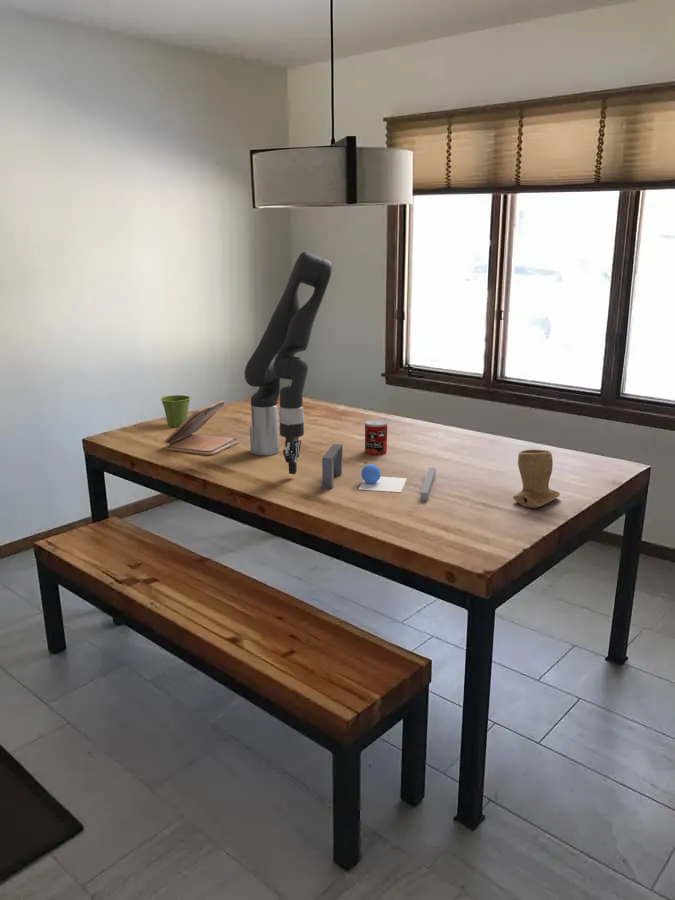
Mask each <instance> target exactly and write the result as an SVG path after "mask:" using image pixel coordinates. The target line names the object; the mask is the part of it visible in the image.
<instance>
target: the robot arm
mask: <svg viewBox="0 0 675 900" xmlns="http://www.w3.org/2000/svg"><path fill="white" fill-rule="evenodd" d="M332 270H333V265H332V262H331V261H330V260H328V259H326V258H325V257H321V256H318V255H316V254H314V253H311V252H310V253H309V252H307V251H303V252H302V253H300V254H299V256H298V257H297V259H296V261H295V264H294V265H293V268H292V271H291V273H290V275H289V279H288V281H287V283H286V285H285V286H286V287H285V289H284V291H283V293H282V295H281V298H280V300H279V302H278V304H277V306H276V307H275V310H273V311H274V312H273V313H272V316H271V318H270V320H269V322H268V325H267V327H266V329H265V331H264V333H263V335H262V337H261V339H260V341H259V343H258V345H257V346H256V348H255V351H254V352H253V354H252V355H251V356H250V358H249V360H248V362H247V363H246V365H245V368H244V379H245V382H246V383H247V385H249V386H251V387H254V388H256V387H257V388H258V387H259V388H258V390H257V391H256V392H255V393H254V394H253V395H252V396H251V398H250V412H251V413H250V414H251V415H250V416H251V417H250V419H251V426H249V438H250V439H249V442H250V443H249V444H250V454H254V455H255V456H256V455H257V456H272V455H276V454H279V452H280V450H279V449H280V445H279V443H280V442H279V441H280V439H279V436H281V437H284V438H285V441H284V442H283V443H284V449H283V450H282V455H283V457H284V460H285V462H286V463H288V474H289V475H296V473H297V471H298V469H297V468H298V467H297V465H298V463H297V462H298V458H300V451H301V444H302V440H301V439H299V438H300V437H303V436H304V434H305V427H304V426H305V424H304V423H305V421H304V420H305V418H304V416H305V415H304V413H305V412H304V406H303V405H304V404H303V403H304V401H303V392H304V388H305V384H306V381H307V376H308V372H309V369H308V367H309V366H308V363H307V361H306V360H305V358H303V357H300V356H295V355H296V354H297V353H300V352H304V351H306V350H307V348H308V346H309V341H310V337H311V334H312V330H313V325H314V322H315V319H316V317H317V314H318V312H319V309H320V306H321V304H322V301H323V299H324V296H325V293H326V291H327V288H328V285H329V282H330V279H331V275H332V272H333V271H332ZM300 284H304V285H306V286H310V287H313V288H314V290H313V293H312V295H311V296H310V298H309V300H307V302H306V303H305V304H303V306H300V302H299V294H298V293H299V291H298V290H299V287H300ZM281 379H283V380H290V381H291V384H290V385H287V386H283V387H281ZM278 399H279V402H278ZM278 403H279V404H278ZM278 405H279V406H278ZM278 409H279V410H278Z"/></svg>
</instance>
